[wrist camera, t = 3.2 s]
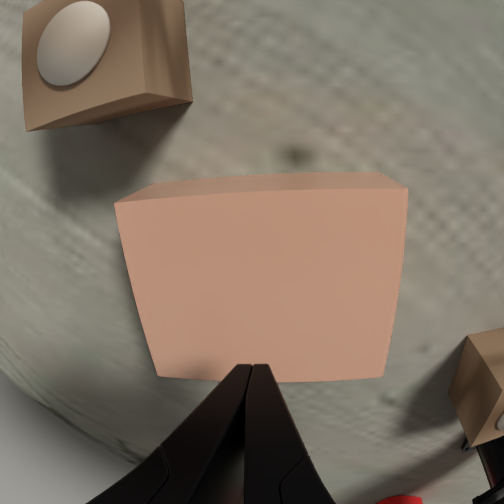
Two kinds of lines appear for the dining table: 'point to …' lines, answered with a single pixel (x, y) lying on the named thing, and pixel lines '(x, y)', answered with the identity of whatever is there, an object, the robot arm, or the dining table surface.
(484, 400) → the tagged walnut block
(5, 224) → the dining table surface
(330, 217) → the terracotta slab
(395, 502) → the french fries
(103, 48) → the tagged walnut block
